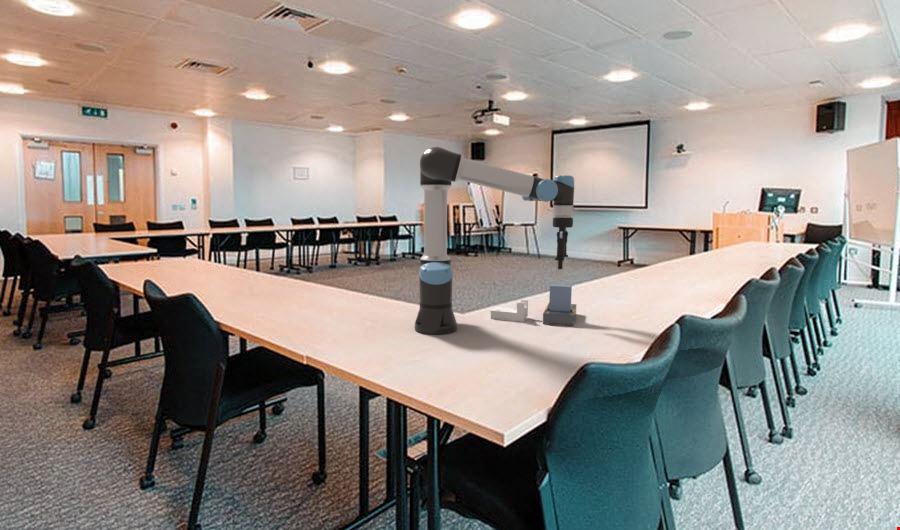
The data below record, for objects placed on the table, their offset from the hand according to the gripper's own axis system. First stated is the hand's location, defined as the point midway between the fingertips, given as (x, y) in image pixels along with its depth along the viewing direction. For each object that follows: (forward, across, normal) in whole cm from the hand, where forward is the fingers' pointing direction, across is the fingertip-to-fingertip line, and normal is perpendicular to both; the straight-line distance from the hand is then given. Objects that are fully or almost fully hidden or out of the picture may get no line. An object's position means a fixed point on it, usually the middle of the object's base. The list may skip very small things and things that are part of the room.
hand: (561, 275), depth 205 cm
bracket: (+18, -2, +19) cm, 26 cm away
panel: (+17, 0, 0) cm, 17 cm away
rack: (+17, +2, 0) cm, 18 cm away
